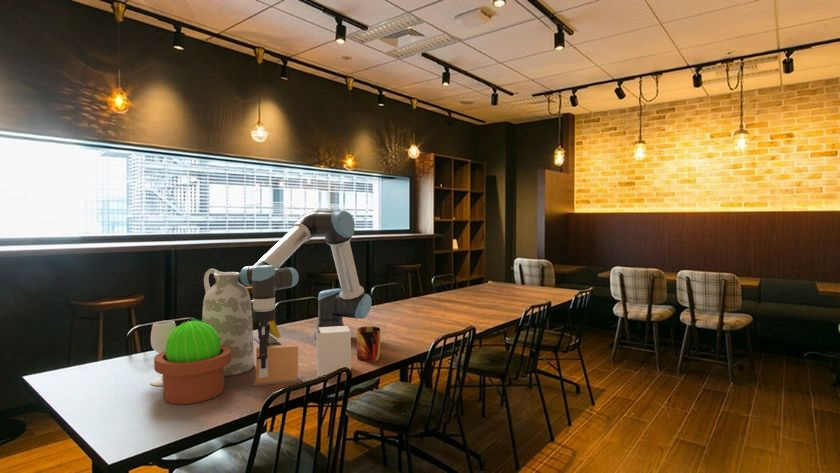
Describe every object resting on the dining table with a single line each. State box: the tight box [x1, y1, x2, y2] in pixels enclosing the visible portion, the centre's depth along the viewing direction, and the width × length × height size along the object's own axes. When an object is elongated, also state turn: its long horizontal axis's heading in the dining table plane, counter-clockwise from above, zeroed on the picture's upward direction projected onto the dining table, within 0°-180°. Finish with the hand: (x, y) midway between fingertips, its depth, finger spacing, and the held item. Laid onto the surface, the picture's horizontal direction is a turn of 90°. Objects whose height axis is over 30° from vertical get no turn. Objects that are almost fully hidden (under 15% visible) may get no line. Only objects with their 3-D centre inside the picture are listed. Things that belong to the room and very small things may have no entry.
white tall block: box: [315, 325, 352, 378], centre depth 170 cm, size 9×12×17 cm
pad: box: [253, 374, 302, 387], centre depth 160 cm, size 6×16×1 cm, turn 107°
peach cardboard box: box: [255, 343, 299, 383], centre depth 160 cm, size 3×14×12 cm, turn 107°
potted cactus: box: [153, 318, 231, 405], centre depth 147 cm, size 22×22×25 cm
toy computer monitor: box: [253, 320, 281, 345], centre depth 211 cm, size 20×8×16 cm, turn 34°
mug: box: [356, 325, 381, 363], centre depth 186 cm, size 10×14×12 cm
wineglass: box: [150, 320, 177, 387], centre depth 158 cm, size 9×9×21 cm
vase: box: [201, 268, 255, 377], centre depth 172 cm, size 20×19×38 cm
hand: (264, 371), depth 159 cm, fingers open, 10 cm apart
